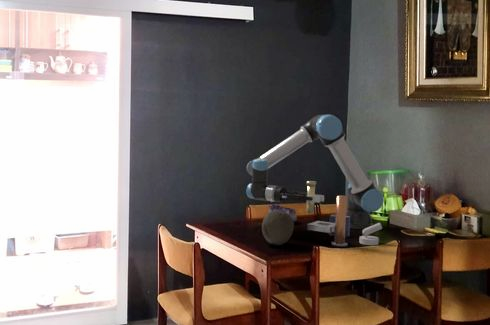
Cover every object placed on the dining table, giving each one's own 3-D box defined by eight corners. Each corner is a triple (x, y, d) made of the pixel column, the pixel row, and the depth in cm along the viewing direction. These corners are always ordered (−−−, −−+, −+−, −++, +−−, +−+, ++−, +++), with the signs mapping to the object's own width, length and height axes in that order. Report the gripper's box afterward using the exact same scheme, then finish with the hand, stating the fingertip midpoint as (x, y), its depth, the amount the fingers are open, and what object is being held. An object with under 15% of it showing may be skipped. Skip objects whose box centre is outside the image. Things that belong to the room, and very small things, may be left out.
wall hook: (385, 224, 267) (363, 224, 266) (384, 245, 268) (362, 245, 267) (379, 220, 275) (358, 220, 275) (378, 241, 276) (357, 240, 275)
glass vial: (313, 212, 275) (314, 181, 274) (315, 213, 270) (317, 182, 269) (304, 212, 274) (305, 180, 273) (306, 213, 270) (307, 182, 269)
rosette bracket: (306, 242, 268) (308, 194, 266) (317, 238, 277) (319, 192, 275) (341, 248, 259) (344, 198, 257) (351, 244, 268) (353, 195, 266)
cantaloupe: (295, 248, 256) (296, 213, 255) (262, 247, 255) (264, 213, 254) (290, 241, 270) (291, 208, 269) (259, 240, 269) (260, 208, 268)
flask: (349, 235, 286) (350, 212, 285) (349, 237, 283) (350, 213, 282) (329, 234, 289) (330, 210, 288) (328, 235, 286) (329, 211, 285)
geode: (259, 219, 324) (261, 201, 325) (276, 220, 331) (278, 202, 331) (282, 224, 308) (284, 205, 308) (299, 225, 314) (301, 206, 314)
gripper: (285, 199, 289) (329, 205, 276) (267, 203, 275) (313, 209, 262) (285, 184, 288) (329, 189, 275) (268, 187, 274) (313, 192, 261)
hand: (321, 199), depth 269 cm, fingers closed on glass vial, 3 cm apart
